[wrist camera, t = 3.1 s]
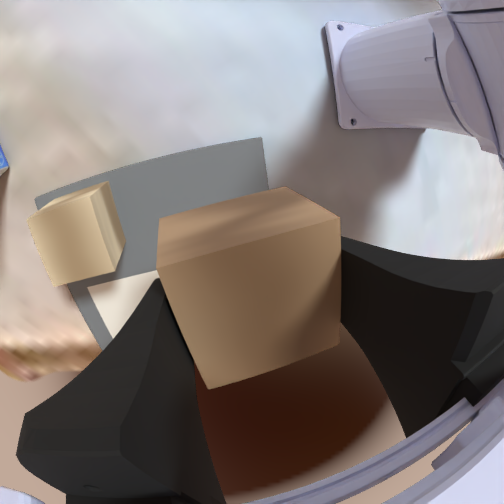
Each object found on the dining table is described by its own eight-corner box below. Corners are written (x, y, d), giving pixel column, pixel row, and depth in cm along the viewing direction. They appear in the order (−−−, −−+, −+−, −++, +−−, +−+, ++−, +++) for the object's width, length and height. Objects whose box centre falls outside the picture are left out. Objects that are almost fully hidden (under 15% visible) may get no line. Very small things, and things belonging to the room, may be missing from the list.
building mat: (260, 137, 17) (262, 137, 16) (281, 316, 23) (283, 319, 23) (36, 197, 14) (34, 199, 14) (108, 356, 21) (108, 360, 20)
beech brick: (108, 180, 15) (89, 196, 12) (126, 241, 17) (115, 271, 13) (54, 199, 14) (26, 219, 11) (73, 255, 16) (53, 286, 13)
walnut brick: (285, 186, 11) (339, 217, 8) (297, 289, 13) (339, 344, 10) (159, 218, 10) (156, 268, 7) (193, 321, 13) (208, 389, 9)
